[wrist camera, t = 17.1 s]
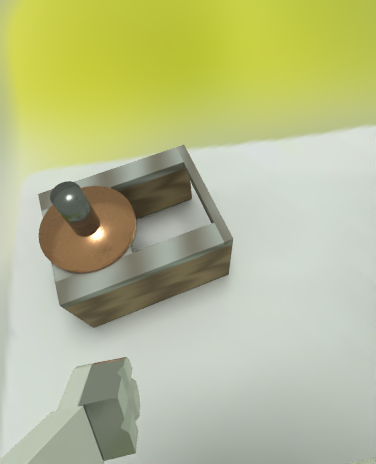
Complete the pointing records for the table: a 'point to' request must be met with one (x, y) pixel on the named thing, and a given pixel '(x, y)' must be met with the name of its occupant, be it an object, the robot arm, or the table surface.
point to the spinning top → (86, 227)
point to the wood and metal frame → (154, 257)
